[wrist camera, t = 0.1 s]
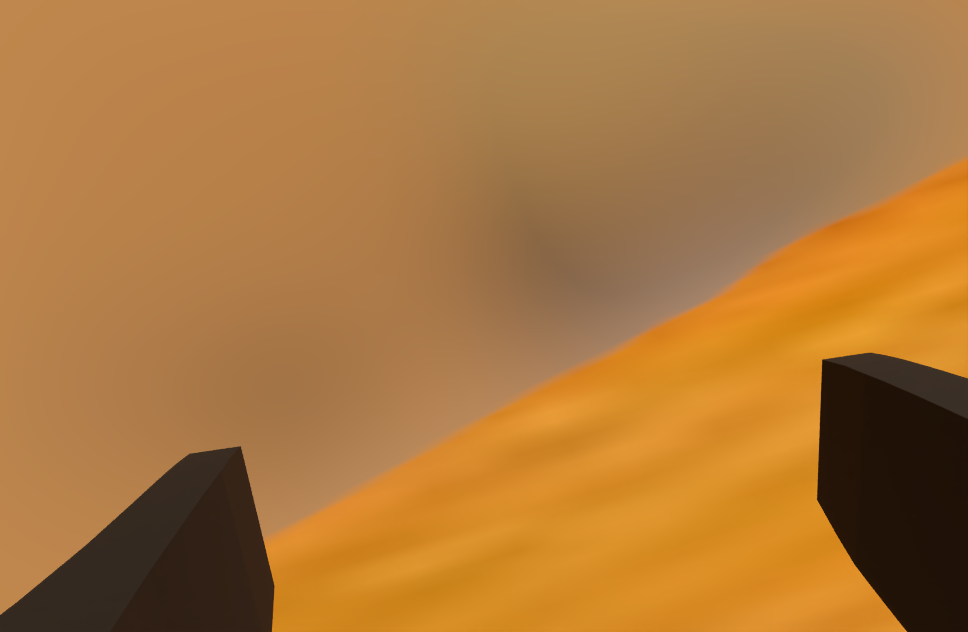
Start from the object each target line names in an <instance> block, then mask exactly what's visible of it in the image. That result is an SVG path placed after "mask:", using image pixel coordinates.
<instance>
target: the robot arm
mask: <svg viewBox="0 0 968 632" xmlns="http://www.w3.org/2000/svg"><path fill="white" fill-rule="evenodd" d="M817 500H818V502H819V504H820V506H821V507H822V509H823V511H824V513H825V515H826V516H827V518H828V520H829V522H830V524H831V525H832V527H833V529H834V531H835V533H836V534H837V536H838V538H839V539H840V541H841V543H842V544H843V546H844V548H845V549H846V551H847V553H848V554H849V556H850V558H851V559H852V561H853V562H854V564H855V566H856V567H857V568H858V570H859V571H860V572H861V573H862V575H863V576H864V577H865V579H866V580H867V581H868V583H869V584H870V585H871V587H872V588H873V589H874V590H875V592H876V593H877V594H878V595H879V597H880V598H881V599H882V601H883V602H884V603H885V604H886V606H887V607H888V608H889V609H890V611H891V612H892V613H893V615H894V616H895V617H896V618H897V620H898V621H899V622H900V623H901V625H902V626H903V627H904V628H905V630H906V631H907V632H968V379H967V378H964V377H961V376H958V375H954V374H951V373H948V372H945V371H942V370H938V369H935V368H932V367H928V366H925V365H921V364H918V363H914V362H911V361H907V360H903V359H899V358H895V357H891V356H886V355H881V354H875V353H864V354H857V355H851V356H844V357H837V358H830V359H824V360H822V383H821V410H820V437H819V463H818V490H817ZM273 601H274V582H273V578H272V574H271V570H270V566H269V562H268V558H267V553H266V549H265V545H264V541H263V537H262V533H261V529H260V524H259V520H258V516H257V512H256V508H255V504H254V500H253V496H252V491H251V487H250V483H249V479H248V474H247V470H246V466H245V462H244V458H243V454H242V450H241V447H234V448H226V449H220V450H213V451H206V452H199V453H193V454H189V455H187V456H186V457H185V458H183V459H182V460H181V461H179V462H178V463H177V464H176V465H175V466H173V467H172V468H171V469H170V470H169V471H167V472H166V473H165V474H164V475H163V476H162V477H161V478H160V479H159V480H157V481H156V482H155V483H154V484H153V485H152V486H151V487H150V488H149V489H148V490H147V491H145V492H144V493H143V494H142V495H141V496H140V497H139V498H138V499H137V500H136V501H134V503H133V504H131V505H130V506H129V507H128V508H127V509H126V510H125V511H124V512H122V513H121V514H120V515H119V516H118V517H117V518H116V519H115V520H113V521H112V522H111V523H110V524H109V525H108V526H107V527H106V528H105V529H103V530H102V531H101V532H100V533H99V534H98V535H97V536H96V537H95V538H94V539H92V540H91V541H90V542H89V543H88V544H87V545H86V546H85V547H83V548H82V549H81V550H80V551H78V552H77V553H76V554H75V555H74V556H73V557H71V558H70V559H69V560H68V561H66V562H65V563H64V564H63V565H62V566H60V567H59V568H58V569H57V570H55V571H54V572H53V573H52V574H51V575H49V576H48V577H47V578H46V579H45V580H43V581H42V582H41V583H40V584H39V585H37V586H36V587H35V588H34V589H32V590H31V591H30V592H29V593H28V594H26V595H25V596H24V597H23V598H22V599H20V600H19V601H18V602H17V603H15V604H14V605H13V606H11V607H10V608H9V609H7V610H6V611H5V612H4V613H2V614H1V615H0V632H272V619H273Z"/></svg>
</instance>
